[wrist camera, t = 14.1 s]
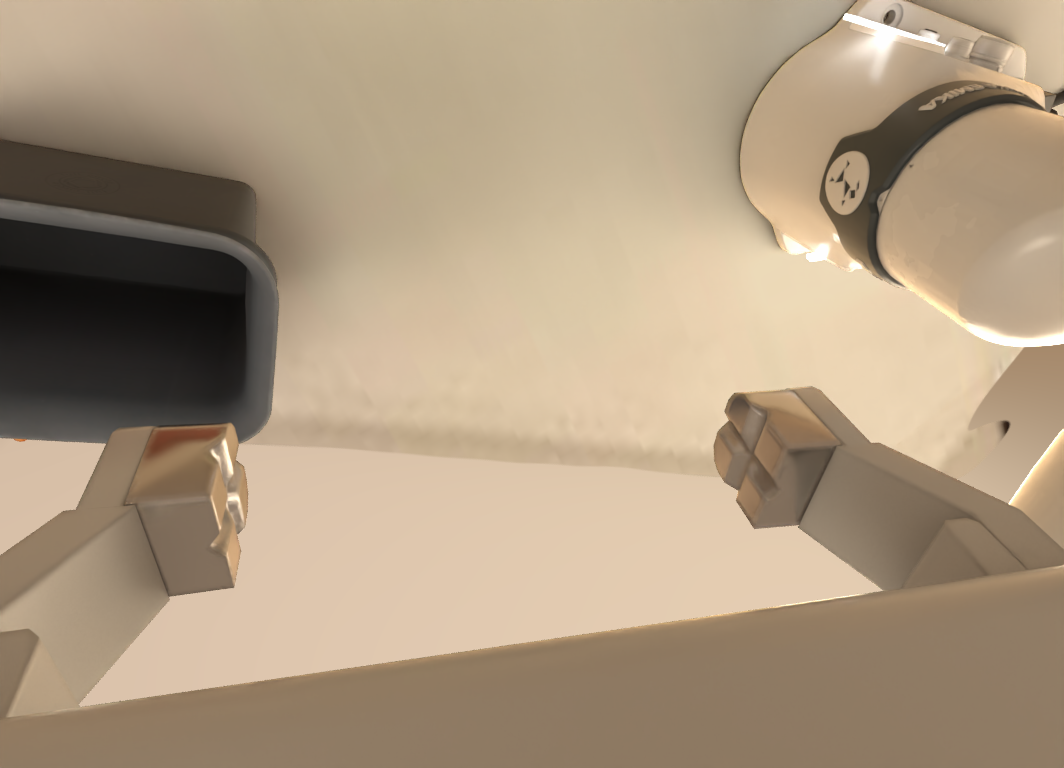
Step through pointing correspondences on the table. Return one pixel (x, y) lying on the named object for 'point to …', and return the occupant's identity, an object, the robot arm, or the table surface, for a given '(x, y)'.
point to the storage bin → (129, 299)
